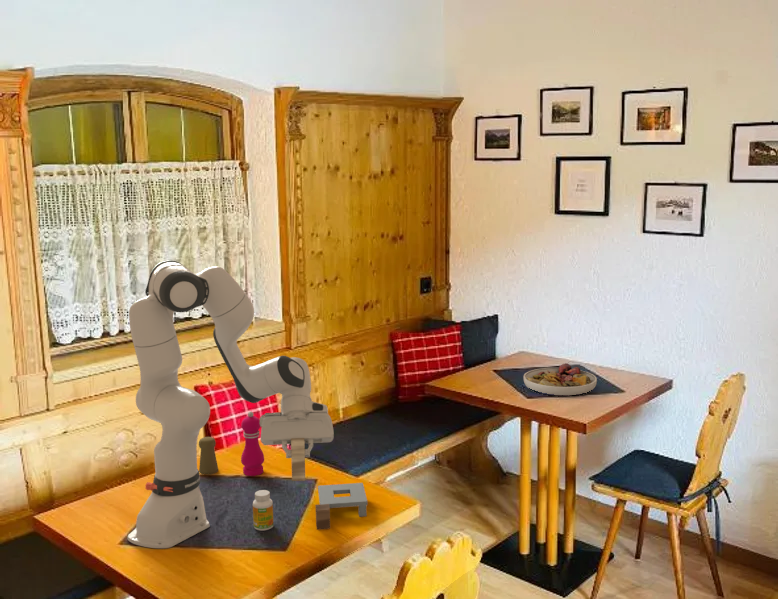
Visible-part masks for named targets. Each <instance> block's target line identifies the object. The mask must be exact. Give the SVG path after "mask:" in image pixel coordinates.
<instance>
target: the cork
mask: <svg viewBox="0 0 778 599" xmlns="http://www.w3.org/2000/svg"><path fill="white" fill-rule="evenodd" d="M216 445H217V444H216V439H215V438H214V437H212V436H204V437H202V438H200V439H199V441H198V447H199V449H200V453H199V454H200V456H199V457H200V458H199V465H198V468H199V469H198V470H199V472H200V473H201V474H200V473H199V474H200V475H203V474H208V475H207V476H209V474H210V475H213V474H217V473H218V472H219V466H218V461H217V456H216V452H215V451H216V450H215V447H216Z"/></svg>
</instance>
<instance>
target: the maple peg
mask: <svg viewBox="0 0 778 599" xmlns="http://www.w3.org/2000/svg"><path fill="white" fill-rule="evenodd" d="M305 444H306V443H305V442H304V438H292V439H291V444H290V450H291V456H292V458H290V459H291V482H299V481H303V482H304V481H306V461H305V460H306V457H305V449H306V448H305Z"/></svg>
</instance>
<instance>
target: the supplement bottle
mask: <svg viewBox="0 0 778 599" xmlns="http://www.w3.org/2000/svg"><path fill="white" fill-rule="evenodd" d="M252 518H253V524H252V525H253V529H254V530H257V531H262V532H263V531H269V530H271V529H272V528H274V523H275V522H274V502H273V500H272V499H271V493H270V491H269V490H266V489H260V490H257V491H255V493H254V500H253V502H252Z"/></svg>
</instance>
